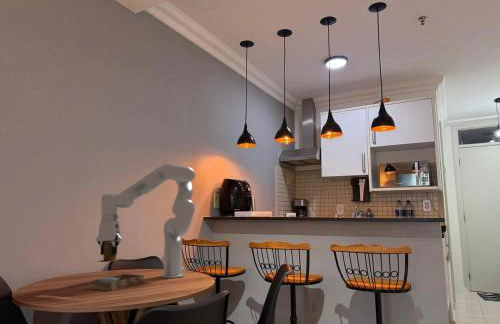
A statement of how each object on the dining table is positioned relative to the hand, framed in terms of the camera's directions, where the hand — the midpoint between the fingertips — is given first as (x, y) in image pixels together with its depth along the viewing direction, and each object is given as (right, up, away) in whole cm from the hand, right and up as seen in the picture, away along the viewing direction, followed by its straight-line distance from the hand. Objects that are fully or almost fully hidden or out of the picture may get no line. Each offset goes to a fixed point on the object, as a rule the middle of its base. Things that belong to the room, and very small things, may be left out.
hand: (108, 254), depth 180 cm
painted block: (+7, -10, -18) cm, 21 cm away
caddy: (+9, -12, -12) cm, 19 cm away
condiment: (0, -3, 0) cm, 3 cm away
